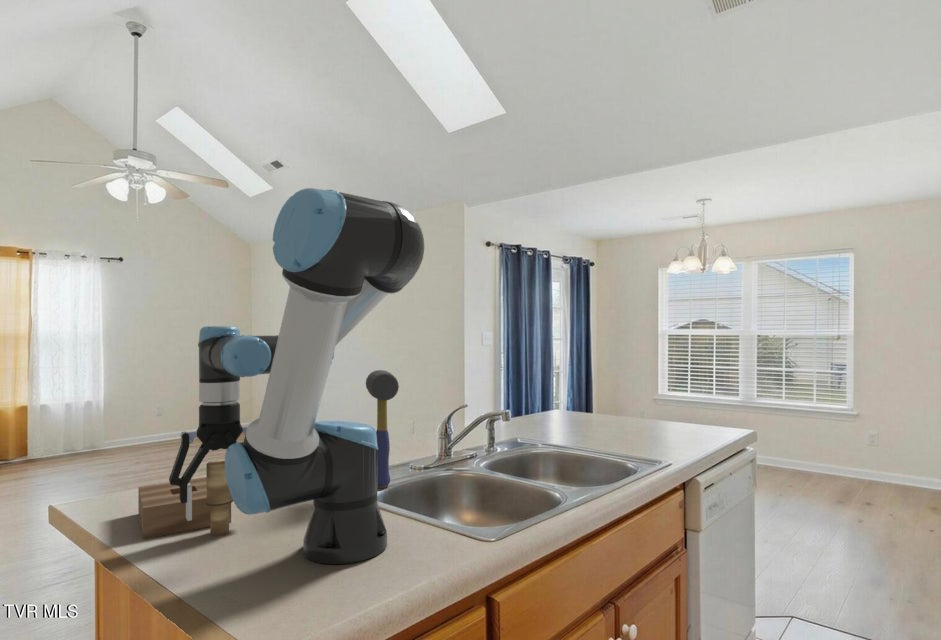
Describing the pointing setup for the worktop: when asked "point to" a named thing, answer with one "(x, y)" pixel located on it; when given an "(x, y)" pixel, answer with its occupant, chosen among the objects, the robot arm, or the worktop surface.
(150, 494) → the socket block
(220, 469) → the peg
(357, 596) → the worktop surface
